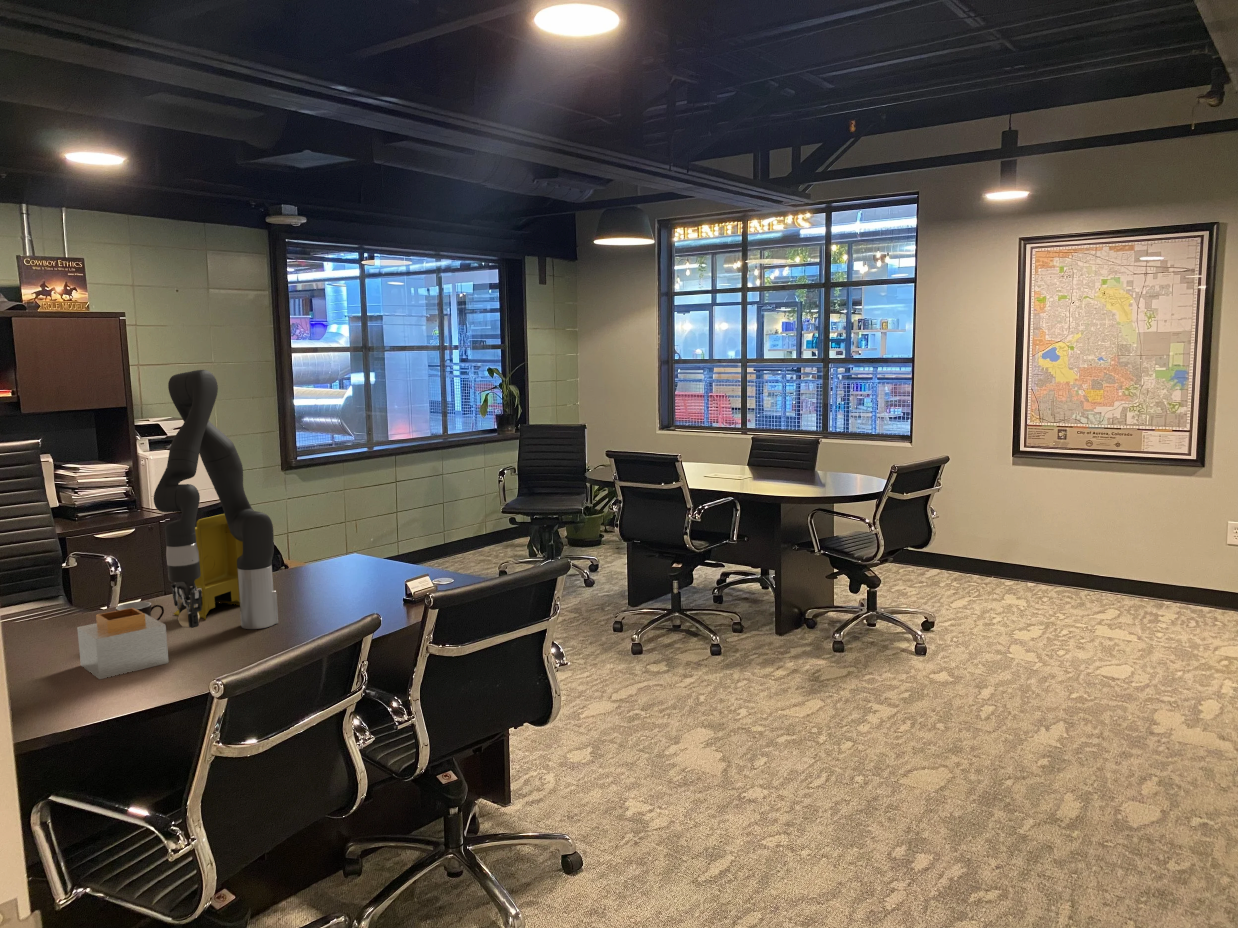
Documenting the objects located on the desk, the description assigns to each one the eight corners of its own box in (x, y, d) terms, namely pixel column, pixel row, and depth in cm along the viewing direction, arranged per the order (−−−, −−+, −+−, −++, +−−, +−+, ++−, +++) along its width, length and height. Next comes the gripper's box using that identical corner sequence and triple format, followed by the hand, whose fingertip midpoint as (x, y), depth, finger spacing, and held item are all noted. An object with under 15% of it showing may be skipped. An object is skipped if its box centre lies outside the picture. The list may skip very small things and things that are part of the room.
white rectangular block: (147, 650, 245) (143, 602, 244) (168, 662, 235) (164, 613, 233) (80, 665, 234) (76, 615, 233) (99, 679, 224) (94, 627, 222)
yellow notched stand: (233, 594, 301) (227, 503, 297) (267, 597, 296) (261, 505, 292) (154, 621, 272) (146, 521, 268) (191, 625, 267) (183, 523, 263)
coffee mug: (118, 648, 247) (115, 611, 246) (119, 639, 255) (115, 604, 254) (166, 641, 253) (163, 605, 251) (165, 633, 260) (163, 598, 259)
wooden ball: (195, 622, 244) (193, 604, 243) (203, 626, 240) (201, 608, 240) (176, 627, 240) (174, 609, 240) (183, 631, 237) (182, 612, 236)
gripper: (209, 562, 236) (215, 626, 238) (186, 554, 245) (192, 616, 248) (179, 568, 230) (186, 634, 233) (157, 560, 240) (163, 623, 242)
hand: (189, 624), depth 240 cm, fingers closed on wooden ball, 5 cm apart
